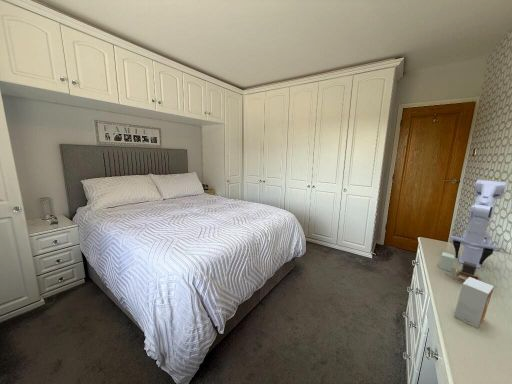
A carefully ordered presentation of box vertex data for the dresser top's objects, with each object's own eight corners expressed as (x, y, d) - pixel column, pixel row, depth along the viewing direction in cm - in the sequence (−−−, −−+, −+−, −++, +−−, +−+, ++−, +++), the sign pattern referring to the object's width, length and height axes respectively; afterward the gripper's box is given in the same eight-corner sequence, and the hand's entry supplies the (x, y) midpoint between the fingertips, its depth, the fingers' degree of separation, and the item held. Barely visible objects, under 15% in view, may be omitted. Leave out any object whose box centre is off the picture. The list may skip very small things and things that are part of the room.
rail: (456, 268, 107) (458, 258, 106) (478, 275, 102) (481, 264, 100) (455, 281, 96) (458, 270, 94) (480, 290, 90) (484, 278, 89)
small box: (478, 329, 70) (489, 294, 67) (453, 316, 75) (462, 283, 72) (484, 319, 74) (494, 285, 71) (460, 307, 79) (468, 276, 77)
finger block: (439, 264, 111) (442, 251, 109) (451, 267, 108) (454, 254, 106) (438, 268, 107) (441, 255, 105) (450, 271, 104) (454, 258, 102)
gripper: (453, 229, 94) (446, 257, 97) (502, 239, 84) (492, 270, 87) (453, 225, 99) (446, 252, 102) (499, 234, 90) (491, 264, 92)
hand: (468, 260), depth 95 cm, fingers open, 7 cm apart
